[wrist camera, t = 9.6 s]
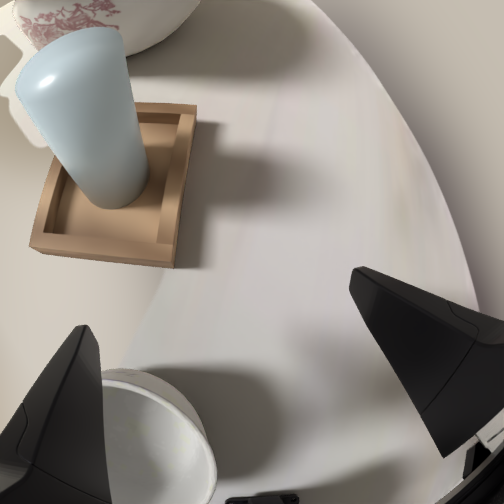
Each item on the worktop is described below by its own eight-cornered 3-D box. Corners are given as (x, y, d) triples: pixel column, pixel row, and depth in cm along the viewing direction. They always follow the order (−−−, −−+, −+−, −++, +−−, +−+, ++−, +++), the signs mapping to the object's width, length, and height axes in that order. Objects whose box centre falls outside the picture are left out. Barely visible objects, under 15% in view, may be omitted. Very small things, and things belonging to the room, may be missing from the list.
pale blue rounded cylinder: (164, 177, 23) (145, 49, 10) (107, 224, 21) (32, 124, 8) (125, 135, 23) (95, 17, 10) (72, 177, 21) (6, 74, 9)
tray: (173, 268, 22) (170, 261, 19) (43, 253, 20) (28, 246, 18) (196, 122, 25) (196, 105, 23) (83, 120, 24) (76, 104, 21)
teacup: (140, 333, 20) (110, 337, 13) (239, 430, 20) (259, 477, 12) (40, 426, 16) (-7, 454, 9) (129, 510, 16) (112, 562, 8)
